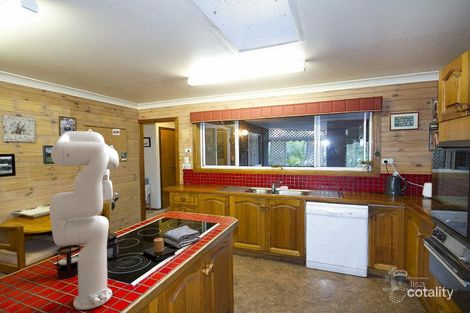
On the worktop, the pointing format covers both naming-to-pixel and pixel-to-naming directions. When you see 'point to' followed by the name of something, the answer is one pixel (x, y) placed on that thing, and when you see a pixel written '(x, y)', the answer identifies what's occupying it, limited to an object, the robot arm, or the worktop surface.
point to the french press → (67, 262)
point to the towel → (181, 236)
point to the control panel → (158, 253)
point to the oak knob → (158, 245)
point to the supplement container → (112, 246)
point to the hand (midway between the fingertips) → (102, 211)
